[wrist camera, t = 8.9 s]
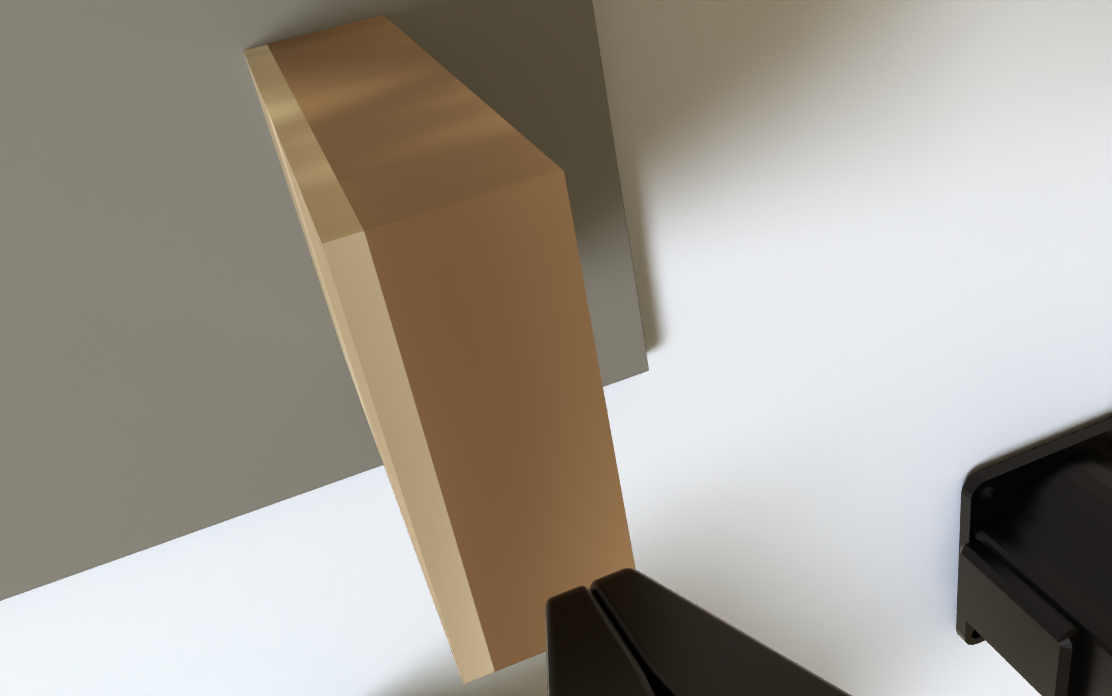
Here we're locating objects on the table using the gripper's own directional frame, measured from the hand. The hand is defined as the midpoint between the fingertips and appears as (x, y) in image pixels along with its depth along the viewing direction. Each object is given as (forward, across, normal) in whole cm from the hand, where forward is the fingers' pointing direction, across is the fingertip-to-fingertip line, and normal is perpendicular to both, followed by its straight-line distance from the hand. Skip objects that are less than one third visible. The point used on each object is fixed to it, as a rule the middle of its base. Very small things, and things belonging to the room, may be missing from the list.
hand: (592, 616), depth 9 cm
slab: (+11, 0, 0) cm, 11 cm away
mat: (+12, +3, 0) cm, 12 cm away
